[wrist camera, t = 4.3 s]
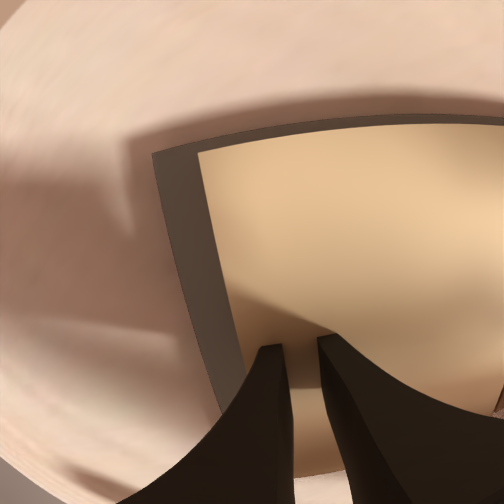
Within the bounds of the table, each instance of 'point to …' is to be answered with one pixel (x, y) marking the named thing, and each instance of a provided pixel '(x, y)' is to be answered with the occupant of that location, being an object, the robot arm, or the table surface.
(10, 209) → the table surface
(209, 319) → the rubber mat
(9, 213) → the table surface
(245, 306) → the oak plank
